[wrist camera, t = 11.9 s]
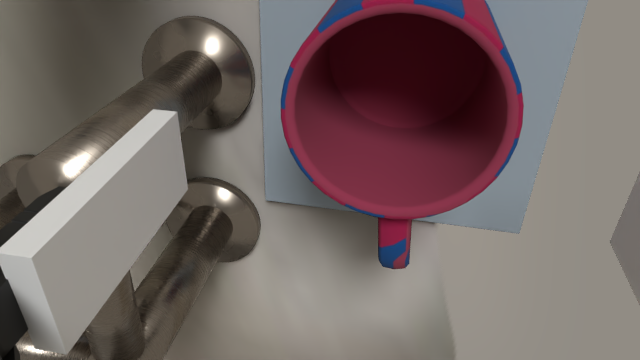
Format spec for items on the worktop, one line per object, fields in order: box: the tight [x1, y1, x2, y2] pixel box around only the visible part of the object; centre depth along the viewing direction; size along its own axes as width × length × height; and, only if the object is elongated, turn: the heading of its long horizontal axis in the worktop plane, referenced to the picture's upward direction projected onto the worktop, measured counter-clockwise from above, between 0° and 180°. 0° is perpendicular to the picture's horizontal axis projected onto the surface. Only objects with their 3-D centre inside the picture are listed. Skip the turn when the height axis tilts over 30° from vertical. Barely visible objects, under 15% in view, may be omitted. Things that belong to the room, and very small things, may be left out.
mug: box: [281, 0, 524, 269], centre depth 18 cm, size 7×10×7 cm
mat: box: [259, 0, 588, 234], centre depth 21 cm, size 12×12×1 cm
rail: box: [0, 16, 261, 360], centre depth 21 cm, size 13×15×10 cm
